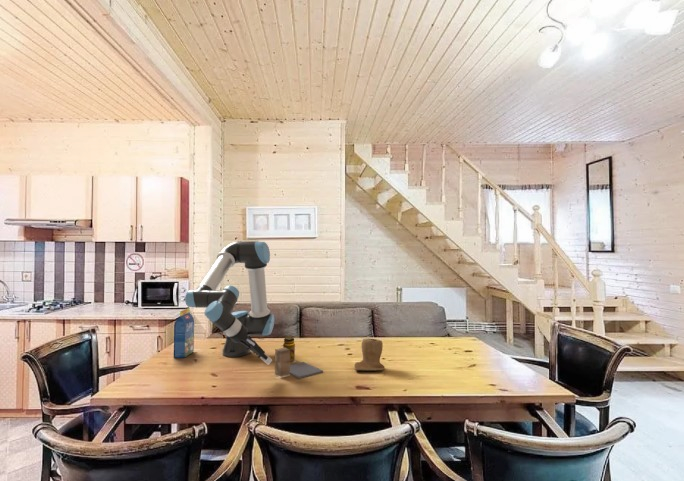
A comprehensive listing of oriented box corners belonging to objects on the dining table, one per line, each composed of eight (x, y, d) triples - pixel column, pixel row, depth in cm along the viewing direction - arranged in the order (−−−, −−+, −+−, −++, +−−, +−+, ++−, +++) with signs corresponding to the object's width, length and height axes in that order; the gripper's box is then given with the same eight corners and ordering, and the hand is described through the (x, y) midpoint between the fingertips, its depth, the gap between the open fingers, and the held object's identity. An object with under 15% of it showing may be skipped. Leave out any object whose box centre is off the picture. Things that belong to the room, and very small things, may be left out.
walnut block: (274, 375, 167) (275, 349, 167) (284, 372, 170) (284, 347, 170) (280, 378, 163) (280, 351, 163) (289, 375, 166) (289, 349, 166)
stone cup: (382, 365, 182) (382, 335, 183) (385, 373, 170) (386, 341, 171) (353, 365, 182) (353, 335, 182) (354, 373, 170) (354, 341, 170)
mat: (279, 368, 175) (279, 367, 175) (303, 363, 184) (303, 361, 184) (298, 378, 162) (298, 376, 162) (323, 372, 171) (323, 370, 171)
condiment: (297, 361, 187) (297, 338, 187) (282, 364, 182) (282, 340, 183) (291, 358, 193) (291, 335, 193) (276, 360, 188) (277, 337, 189)
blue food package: (173, 358, 191) (174, 311, 192) (182, 351, 203) (183, 307, 204) (184, 358, 191) (185, 311, 192) (193, 351, 203) (194, 307, 204)
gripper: (223, 334, 155) (257, 365, 165) (235, 340, 145) (271, 373, 155) (235, 320, 159) (268, 352, 169) (247, 325, 148) (282, 358, 159)
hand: (269, 362), depth 162 cm, fingers closed
